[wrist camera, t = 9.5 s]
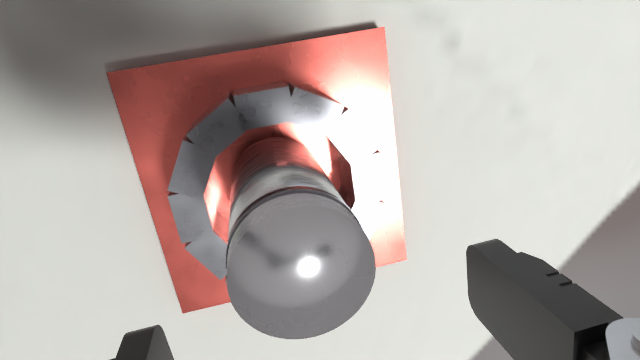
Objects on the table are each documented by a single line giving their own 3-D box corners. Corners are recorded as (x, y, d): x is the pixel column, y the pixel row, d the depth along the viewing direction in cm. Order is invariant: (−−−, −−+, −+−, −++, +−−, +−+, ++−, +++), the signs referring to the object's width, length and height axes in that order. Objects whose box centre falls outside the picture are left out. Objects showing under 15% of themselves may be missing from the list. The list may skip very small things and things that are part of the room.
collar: (112, 71, 21) (84, 77, 17) (378, 27, 23) (405, 24, 19) (184, 303, 25) (175, 348, 22) (400, 252, 27) (426, 285, 23)
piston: (220, 146, 22) (207, 224, 13) (314, 128, 23) (368, 190, 13) (241, 231, 24) (243, 355, 14) (328, 212, 24) (384, 319, 15)
